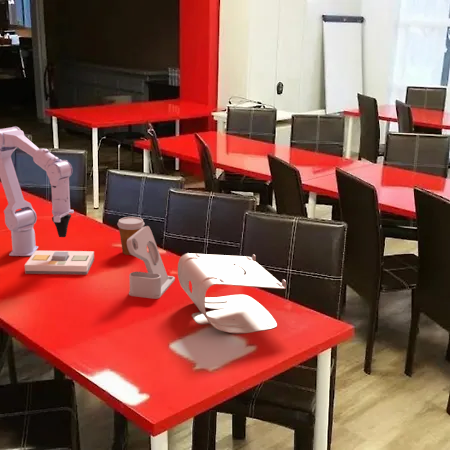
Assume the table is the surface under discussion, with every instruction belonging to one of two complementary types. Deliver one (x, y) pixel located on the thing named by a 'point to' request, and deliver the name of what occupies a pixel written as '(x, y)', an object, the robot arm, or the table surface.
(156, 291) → the phone holder
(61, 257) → the key slate
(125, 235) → the disposable coffee cup
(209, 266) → the portable electronic device stand
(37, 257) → the key ochre
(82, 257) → the key sage
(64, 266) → the keyguard panel
